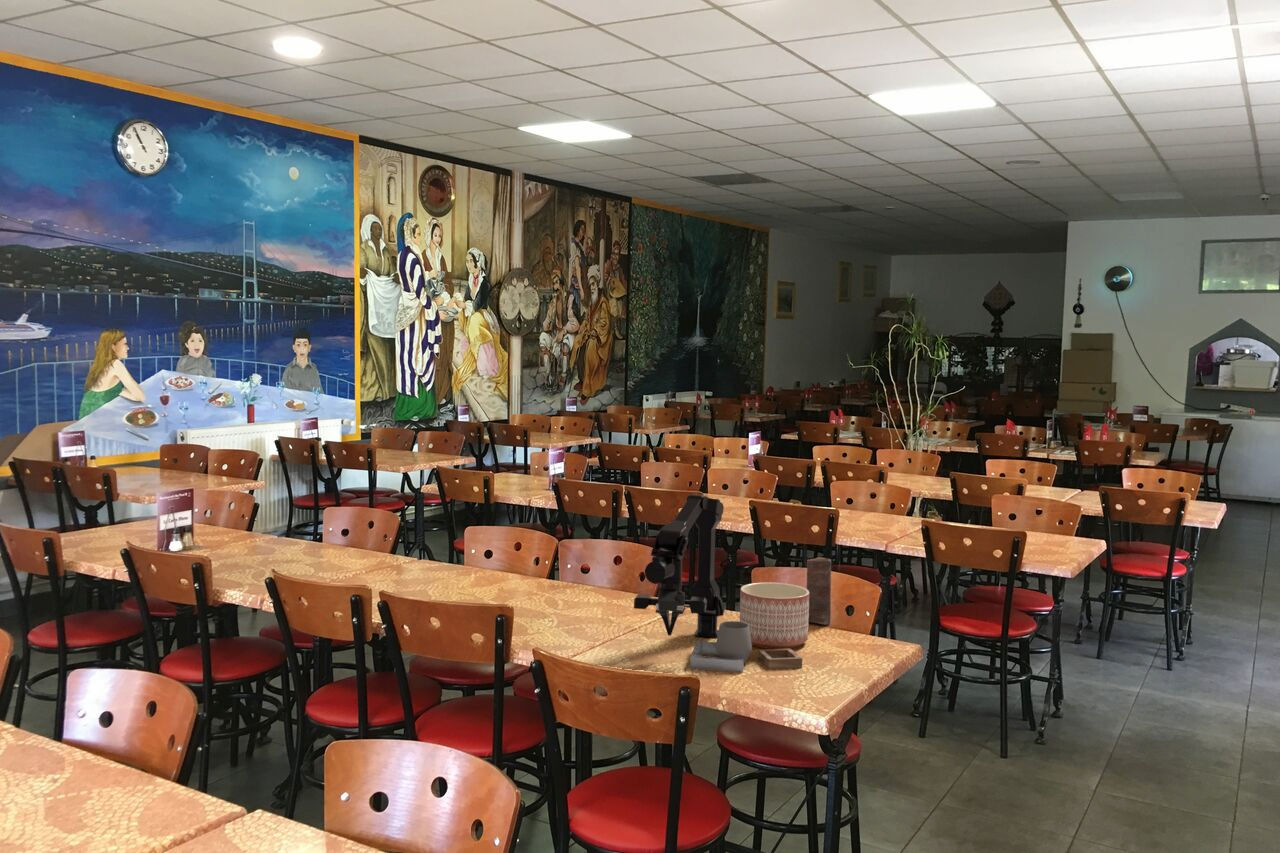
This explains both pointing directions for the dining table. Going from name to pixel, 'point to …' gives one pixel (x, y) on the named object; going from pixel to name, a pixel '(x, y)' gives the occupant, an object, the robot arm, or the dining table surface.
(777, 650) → the square wooden tray
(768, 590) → the planter
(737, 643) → the cup
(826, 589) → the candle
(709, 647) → the grey square frame
